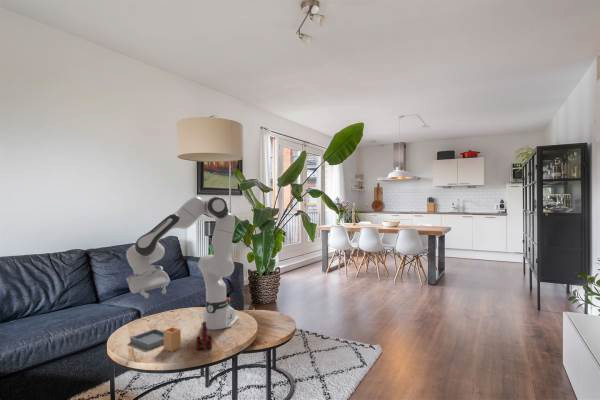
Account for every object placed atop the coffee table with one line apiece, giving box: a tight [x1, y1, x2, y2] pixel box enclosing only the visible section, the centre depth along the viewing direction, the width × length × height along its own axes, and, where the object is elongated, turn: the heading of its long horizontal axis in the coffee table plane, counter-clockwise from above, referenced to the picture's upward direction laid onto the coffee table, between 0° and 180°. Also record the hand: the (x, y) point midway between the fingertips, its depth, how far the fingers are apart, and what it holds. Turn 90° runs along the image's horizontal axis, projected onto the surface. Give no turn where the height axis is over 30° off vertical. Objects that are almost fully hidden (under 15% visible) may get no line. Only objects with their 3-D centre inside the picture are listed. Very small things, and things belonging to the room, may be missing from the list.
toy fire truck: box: [196, 322, 213, 351], centre depth 167 cm, size 7×12×10 cm, turn 16°
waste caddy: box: [162, 326, 182, 353], centre depth 164 cm, size 6×5×9 cm
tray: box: [130, 328, 164, 351], centre depth 173 cm, size 16×14×2 cm
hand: (156, 295), depth 171 cm, fingers open, 8 cm apart
